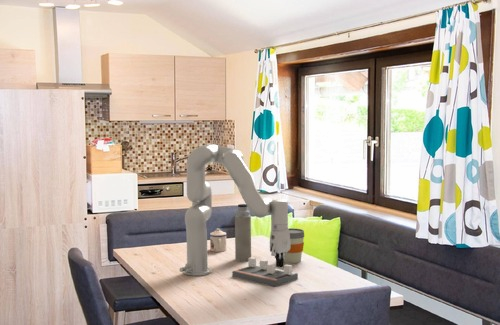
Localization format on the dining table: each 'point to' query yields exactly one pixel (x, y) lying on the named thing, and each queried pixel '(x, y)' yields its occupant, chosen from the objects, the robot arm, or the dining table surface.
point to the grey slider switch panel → (265, 273)
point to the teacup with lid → (218, 241)
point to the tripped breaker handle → (271, 268)
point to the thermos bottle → (242, 233)
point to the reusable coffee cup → (295, 246)
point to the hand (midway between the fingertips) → (279, 266)
